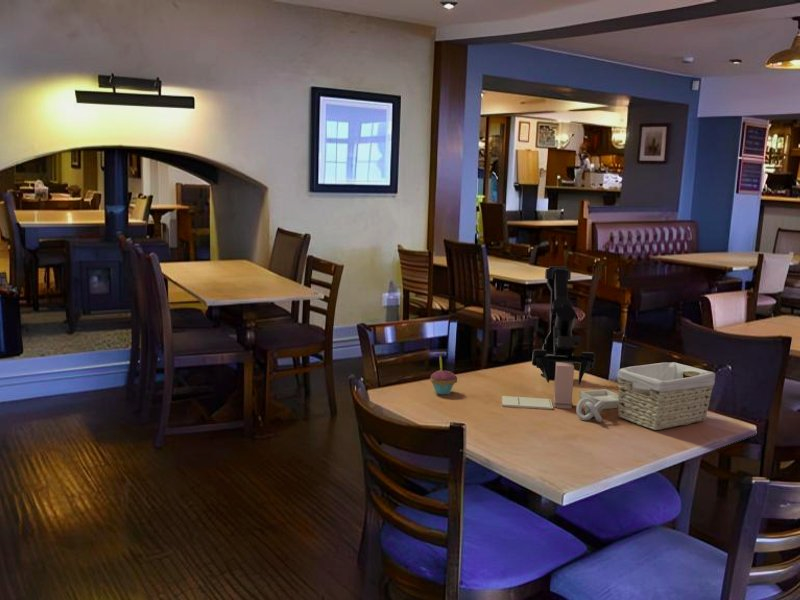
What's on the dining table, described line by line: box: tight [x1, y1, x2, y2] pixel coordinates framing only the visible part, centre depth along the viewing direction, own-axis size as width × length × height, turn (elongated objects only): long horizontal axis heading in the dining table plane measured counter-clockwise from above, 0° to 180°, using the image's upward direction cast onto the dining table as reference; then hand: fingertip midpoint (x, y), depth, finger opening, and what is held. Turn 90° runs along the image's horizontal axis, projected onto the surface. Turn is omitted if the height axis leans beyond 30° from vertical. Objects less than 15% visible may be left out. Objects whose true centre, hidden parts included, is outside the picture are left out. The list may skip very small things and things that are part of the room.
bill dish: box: [578, 388, 619, 410], centre depth 220 cm, size 12×10×2 cm
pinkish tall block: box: [552, 362, 575, 409], centre depth 214 cm, size 5×5×13 cm
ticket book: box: [501, 395, 554, 410], centre depth 216 cm, size 9×15×1 cm, turn 83°
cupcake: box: [430, 355, 458, 396], centre depth 224 cm, size 9×8×12 cm
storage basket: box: [617, 361, 716, 431], centre depth 203 cm, size 24×16×15 cm
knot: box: [575, 398, 605, 423], centre depth 202 cm, size 8×8×6 cm
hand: (564, 382), depth 213 cm, fingers open, 9 cm apart
